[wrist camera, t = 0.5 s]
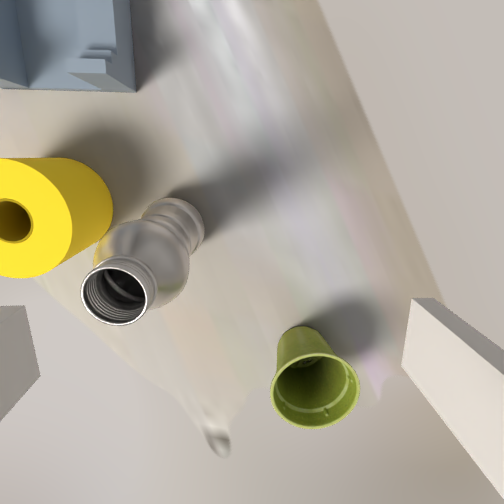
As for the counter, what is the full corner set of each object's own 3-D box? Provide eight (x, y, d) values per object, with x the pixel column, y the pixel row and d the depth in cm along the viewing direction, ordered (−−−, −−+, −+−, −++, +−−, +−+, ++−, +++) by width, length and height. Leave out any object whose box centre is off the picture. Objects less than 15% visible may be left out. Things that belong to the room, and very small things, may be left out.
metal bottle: (165, 182, 36) (83, 214, 17) (218, 216, 37) (198, 282, 18) (136, 231, 37) (30, 311, 18) (188, 262, 38) (140, 367, 19)
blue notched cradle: (-16, -20, 30) (-102, -79, 22) (128, -14, 31) (92, -70, 23) (3, 88, 33) (-69, 68, 25) (136, 92, 33) (106, 73, 26)
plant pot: (281, 387, 44) (291, 441, 36) (252, 331, 41) (256, 375, 33) (346, 361, 43) (372, 409, 35) (320, 302, 41) (342, 339, 32)
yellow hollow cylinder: (69, 138, 34) (8, 132, 25) (131, 216, 37) (97, 236, 28) (-1, 193, 35) (-83, 205, 26) (64, 264, 38) (10, 299, 29)
